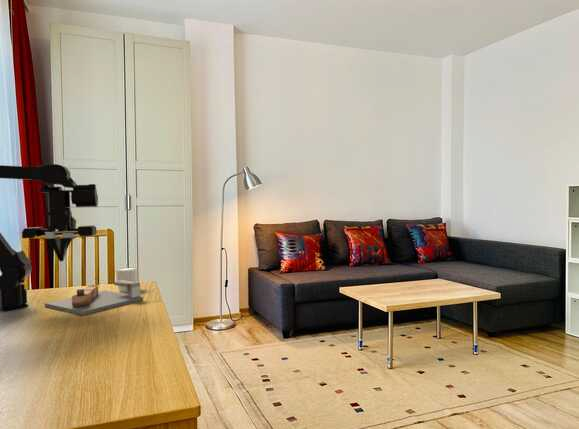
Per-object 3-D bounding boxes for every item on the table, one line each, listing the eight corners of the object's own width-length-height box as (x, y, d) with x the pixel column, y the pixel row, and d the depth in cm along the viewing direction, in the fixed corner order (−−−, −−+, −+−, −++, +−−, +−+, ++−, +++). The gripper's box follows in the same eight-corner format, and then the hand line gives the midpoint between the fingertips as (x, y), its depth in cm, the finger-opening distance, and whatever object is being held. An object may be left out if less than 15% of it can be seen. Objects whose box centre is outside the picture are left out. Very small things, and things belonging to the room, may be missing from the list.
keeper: (132, 298, 130) (131, 284, 130) (114, 295, 134) (113, 281, 134) (140, 296, 132) (139, 282, 132) (122, 293, 137) (122, 280, 137)
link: (87, 305, 121) (86, 291, 120) (70, 307, 120) (69, 292, 120) (101, 292, 138) (101, 279, 138) (86, 293, 137) (86, 280, 137)
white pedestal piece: (115, 288, 149) (115, 268, 149) (137, 286, 152) (136, 266, 152) (117, 292, 143) (116, 271, 143) (139, 290, 146) (138, 269, 146)
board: (82, 315, 116) (82, 311, 116) (44, 306, 126) (44, 303, 126) (142, 300, 132) (142, 296, 132) (104, 293, 142) (104, 290, 142)
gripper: (99, 206, 138) (101, 256, 139) (34, 208, 135) (36, 259, 135) (91, 207, 127) (93, 261, 128) (19, 209, 124) (22, 264, 124)
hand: (61, 261), depth 129 cm, fingers closed
